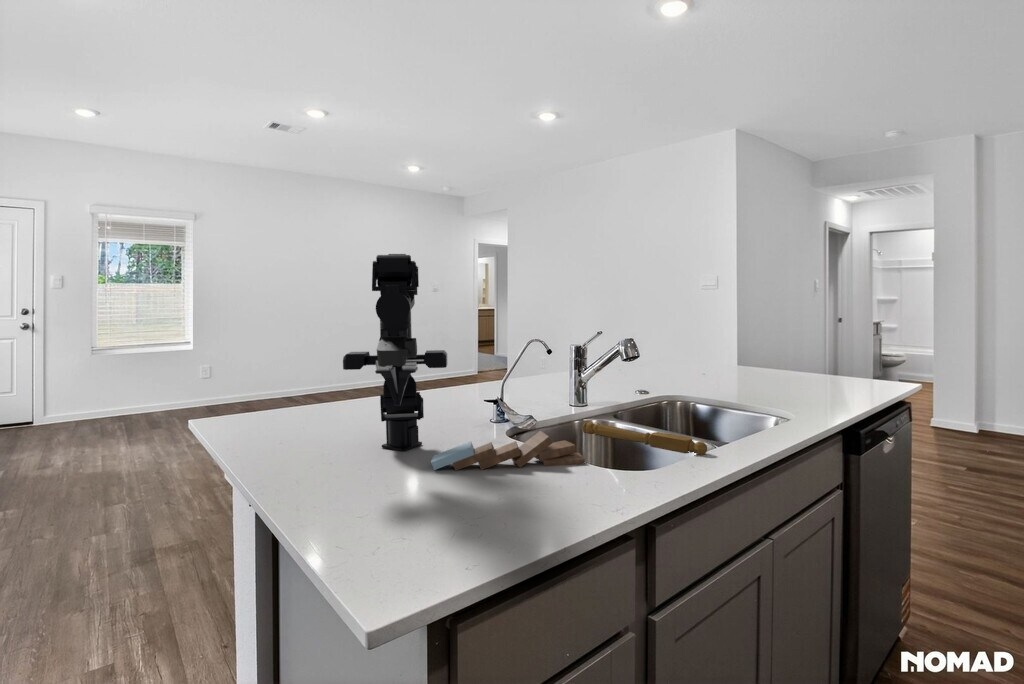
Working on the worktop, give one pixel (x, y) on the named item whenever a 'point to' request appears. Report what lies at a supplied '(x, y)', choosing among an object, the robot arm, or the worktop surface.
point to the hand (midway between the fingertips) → (397, 405)
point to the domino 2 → (476, 456)
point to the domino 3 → (501, 455)
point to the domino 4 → (532, 448)
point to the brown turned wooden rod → (648, 438)
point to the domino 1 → (452, 455)
